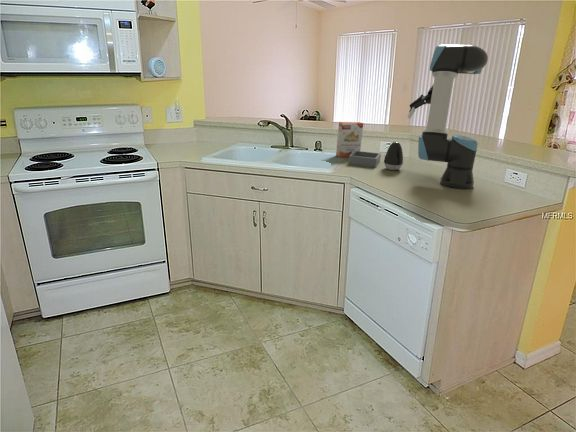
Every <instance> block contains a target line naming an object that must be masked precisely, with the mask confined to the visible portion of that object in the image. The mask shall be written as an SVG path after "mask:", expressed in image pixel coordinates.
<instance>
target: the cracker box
mask: <svg viewBox="0 0 576 432" xmlns="http://www.w3.org/2000/svg"><path fill="white" fill-rule="evenodd" d="M363 129H364V123H363V122H361V121H339V122H338V130H337V141H336V151H335V152H336V153H335V155H336V156H337V157H338V158H349V155H351V154H352V153H353V152H354V151H361V147H362V146H361V145H362V138H363Z"/></svg>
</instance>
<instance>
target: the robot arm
mask: <svg viewBox="0 0 576 432" xmlns="http://www.w3.org/2000/svg"><path fill="white" fill-rule="evenodd" d="M488 61H489V57H488V54H487V52H486V50H484V49H483V48H482V47H480V46H477V45H473V44H472V45H471V44H438V45H437V46H436V47H435V48H434V50H433V54H432V58H431V62H430V65H429V71H430V72H431V76H432V77H433V78H434V80H433V84H431V86H430V89H429V90H428V92H427V94H426V95H423V94H421V95H420V96H419V97H418V98H417V99H416V100H414V101H413V102H411V103H410V104H409V108H410V109H409V111H408V114H407V118H408V120H410V119H411V118H412V116H414V115H413V114H414V113H415V112H416V109H418V108H419V107H422V106H425V105H430V106H429V111H428V117H427V121H426V128H425V129H423V131H422V133H421V134H420V135H418V151H417V152H418V154H417V155H418V159H420V160H424V161H428V162H429V161H430V162H431V161H432V162H441V163H447V165H446V168H445V170H444V172H443V174H442V175H441V177H440V184H441V185H443V186H445V187H448V188H452V187H453V189H459V188H461V189H460V190H465V188H469V189H472V188H474V184H475V180H474V174H473V173H474V172H473V168H474V164H475V161H476V160H475V158H476V155H477V152H478V144H479V143H478V141H477V139H474V138H473V137H469V136H465V135H459V134H453V135H452V136H451V137H448V134H449V133H448V132H447V131H446V127H447V120H448V114H449V110H450V109H449V108H450V104H451V103H450V102H451V96H452V91H453V86H454V85H453V83H454V79H455V78H457V77H458V76H459V74H463V75H464V74H465V75H467V74H468V75H479V74H481V73H482V71H483V69H484V68H485V66H486V65H487V63H488ZM471 187H472V188H471Z"/></svg>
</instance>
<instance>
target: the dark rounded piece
mask: <svg viewBox="0 0 576 432" xmlns="http://www.w3.org/2000/svg"><path fill="white" fill-rule="evenodd" d="M383 164H384V167H385V169H387V170H388V171H389V170H390V171H398V170H399V169H401V168H402V166H403V164H404V152H403V148H402V145H401V143H400V142H398V141H393V142H392V143H391V144H390V145H389V146H388V148H387V150H386V152H385V155H384V158H383Z"/></svg>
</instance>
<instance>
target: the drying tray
mask: <svg viewBox="0 0 576 432" xmlns="http://www.w3.org/2000/svg"><path fill="white" fill-rule="evenodd" d="M381 157H382V153H381V152H380V153H379V152H371V151H362V150H360V151H354V152H353V153H352V154H351V155H349V157H348V165H352V166H360V167H368V168H377V166H378V165H379V164H380V162H381Z"/></svg>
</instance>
